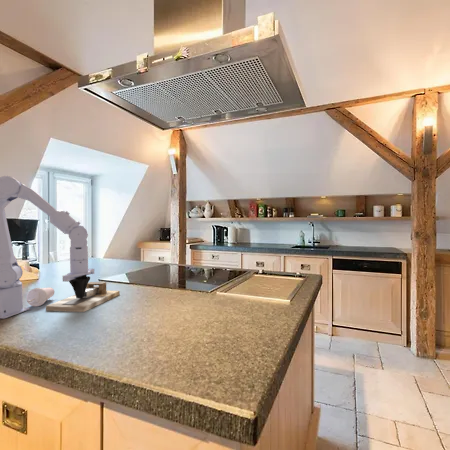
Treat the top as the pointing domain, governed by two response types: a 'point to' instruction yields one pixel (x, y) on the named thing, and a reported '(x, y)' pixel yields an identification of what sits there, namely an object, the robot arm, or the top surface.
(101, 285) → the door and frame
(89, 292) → the brushed metal block
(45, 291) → the smoothie
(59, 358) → the top surface
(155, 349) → the top surface
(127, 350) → the top surface
